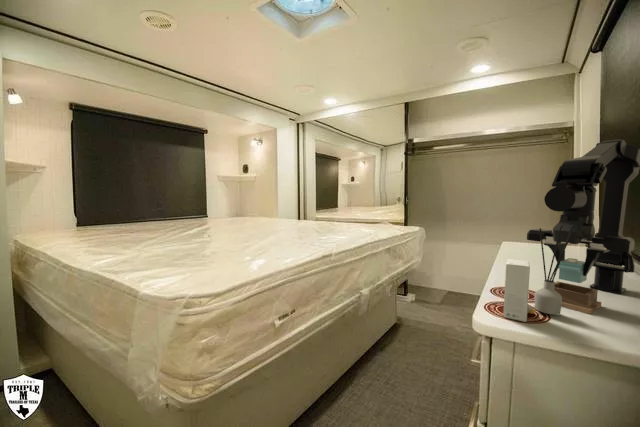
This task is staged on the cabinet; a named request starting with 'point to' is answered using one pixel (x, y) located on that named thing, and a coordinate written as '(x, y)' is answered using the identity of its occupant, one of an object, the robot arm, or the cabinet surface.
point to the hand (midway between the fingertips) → (573, 273)
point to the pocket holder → (578, 297)
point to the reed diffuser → (549, 286)
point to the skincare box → (516, 289)
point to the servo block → (572, 270)
